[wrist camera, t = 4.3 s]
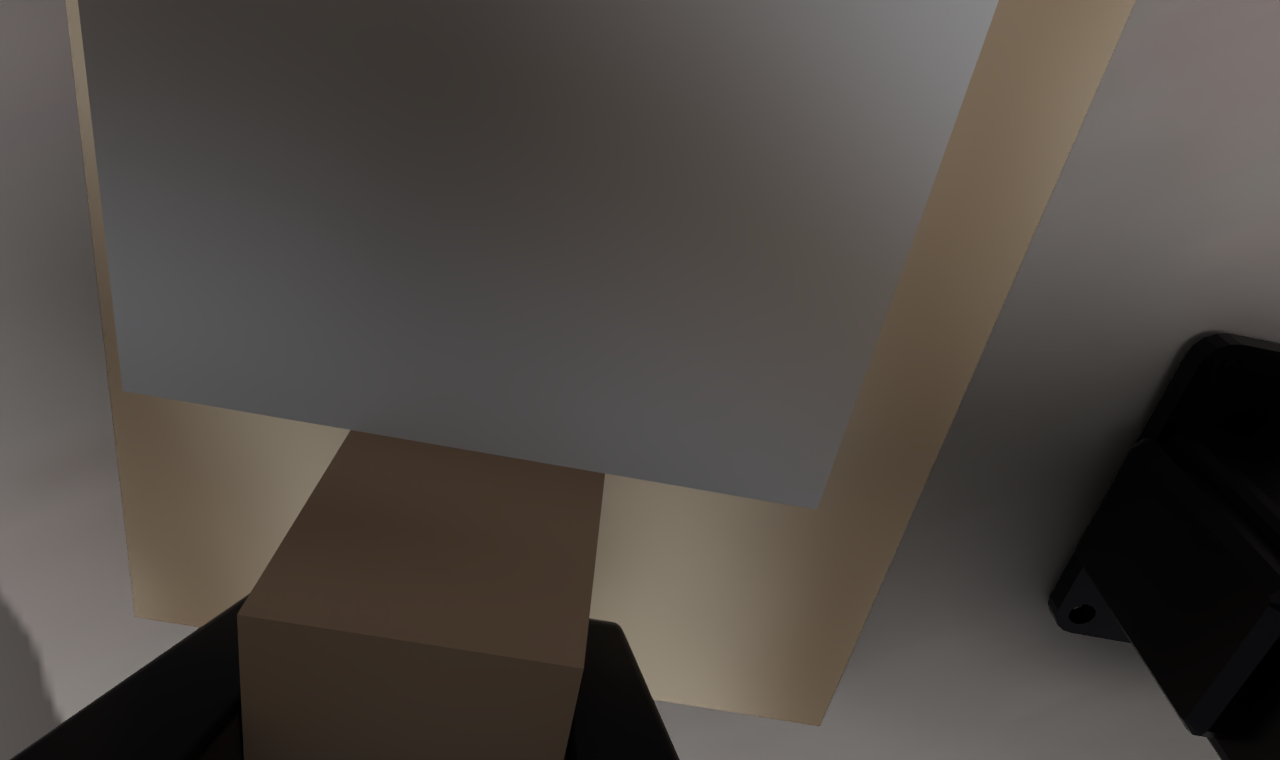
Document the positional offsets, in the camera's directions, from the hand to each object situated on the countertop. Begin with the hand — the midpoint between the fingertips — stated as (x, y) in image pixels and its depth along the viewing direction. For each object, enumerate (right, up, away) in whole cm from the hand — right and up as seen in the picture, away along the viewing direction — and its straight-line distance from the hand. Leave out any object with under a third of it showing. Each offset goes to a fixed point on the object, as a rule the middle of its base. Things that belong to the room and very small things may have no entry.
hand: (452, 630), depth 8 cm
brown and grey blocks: (0, +2, 0) cm, 2 cm away
